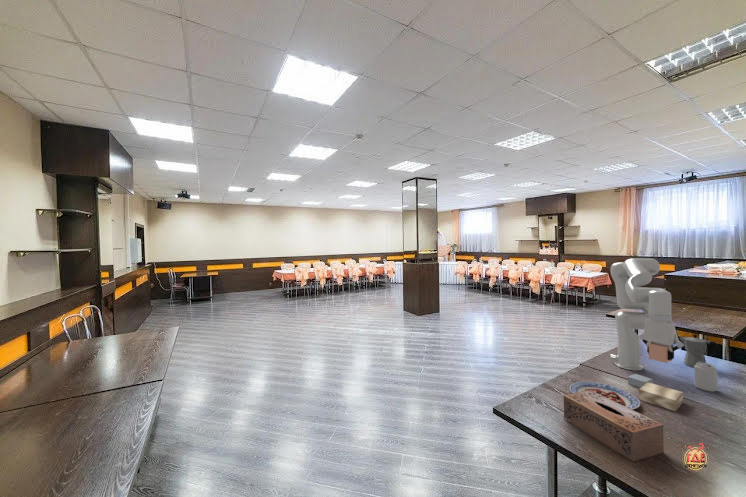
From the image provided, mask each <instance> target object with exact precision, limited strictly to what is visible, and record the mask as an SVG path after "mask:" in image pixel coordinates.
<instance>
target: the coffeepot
mask: <svg viewBox="0 0 746 497" xmlns="http://www.w3.org/2000/svg"><path fill="white" fill-rule="evenodd" d="M692 336H693V337H691V336H690V337H689V336H687V337H685V336H684V337H683V336H682V337H678V340H679V339H680V340H679V341H681V342H682V343H683V344H684V348H685V350H686V352H685V356H684V361H683V364H684V365H686V367H689V366H690V367H689V368H693V369H694V366H695V365H696V363H697V362H703V363H707V360H706V357H705V354H704V353H706V349H707V345H710V346H713V347H712V350H711V353H707V356H709V357H714V356H715V353H716V352H717V350H718V349H719V344H718V343H717V342H715V341H711V340H705V339H702V338H699V337H698V335H697V334H692Z"/></svg>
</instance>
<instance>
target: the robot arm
mask: <svg viewBox="0 0 746 497" xmlns="http://www.w3.org/2000/svg"><path fill="white" fill-rule="evenodd" d="M660 270H661V265H660V263H659V261H658V260H656V259H655V258H650V257H647V258H646V257H645V258H643V257H642V258H641V257H639V258H638V257H637V258H636V257H635V258H634V257H633V258H629V259H626V260H625V261H623V262H621V261H620V262H614V263H613V264H611V266H610V275H611V278H612V280H613V282H614V286H615V294H616V303H617V306H618V307H619V308H620V309H622V310H623V309H624V310H625V309H626V310H627V311H618V312H617V313H616V314H615V316H614V318H615V324H616V332H617V333H616V334H617V355H615V354H610V356H609V357H610V359H611V360H615V361H614V365H615V366H616V367H618V368H621V369H624V370H629V371H635V372H637V371H643V370H644V366H643V365H642V364H640V340H641V342H643V344H645V346H646V347H647V353H648V354H649V343H652V342H654V343H659V344H663V345H667V347H668V349H669V351H668V360H672V361H673V360H674V359H675V351H677V350H679V349H682V348H683V347H685V345H684V343H683V342H682V341H681V340H679V338H677V331H676V326H675V323H674V321H673V320H672V317H673V316H672V293H671V292H670V291H668V290H666V289H665V288H662V287H646V285H648V284H650V283H651V282H652V280H653V276H655V275H657V274H658V273H659V272H660ZM643 286H645V287H643ZM628 310H637V311H628ZM639 310H640V311H641V312H640V311H639ZM634 330H644V331H643V333H641V334H639V335H638V334H637V333H636V332H635V331H634ZM674 345H676V346H674Z"/></svg>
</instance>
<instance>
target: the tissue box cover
mask: <svg viewBox="0 0 746 497" xmlns="http://www.w3.org/2000/svg"><path fill="white" fill-rule="evenodd" d="M564 418H566V419H567V420H569V421H570V422H571V423H573V424H574V425H573V424H572V425H573V426H575V425H576V426H577V428H578V427H579V428H580V430H581V429H582V430H581V431H583V432H584V431H585V432H584V433H586V434H588V435H589V436H591V437H593V438H594V439H595V438H596V439H595V440H597V441H599V442H601V443H602V444H604V445H606V446H607V447H609V448H610V449H612V450H613V451H615V452H616V451H617V452H616V453H618V452H619V453H618V454H620V455H621V454H622V455H621V456H623V455H624V456H625V457H624V456H623V457H624V458H626V457H627V458H626V459H628V460H629V459H630V460H629V461H631V460H632V461H635V462H637V461H636V460H638V461H640V460H639V459H641V460H643V458H644V459H647V458H646V457H648V458H650V457H649V456H651V457H654V456H658V455H661V454H664V453H665V452H664V451H665V450H664V447H665V446H664V445H665V444H664V424H663V423H661V422H659V421H656V420H654V419H653V418H651V417H649V416H646V415H644V414H643V413H640V412H638V411H635V409H633V410H632V409H629V408H627V407H625V406H623V405H621V404H619V403H617V402H615V401H613V400H610V399H608V398H606V397H604V396H602V395H600V394H598V393H596V392H594V391H591V390H588V391H583V392H578V393H569V394H565V395H563V419H564ZM567 420H566V421H567ZM570 422H569V423H570ZM571 423H570V424H571ZM576 426H575V427H576ZM579 428H578V429H579ZM657 454H658V455H657ZM653 455H654V456H653ZM632 461H631V462H632Z"/></svg>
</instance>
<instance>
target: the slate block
mask: <svg viewBox="0 0 746 497" xmlns="http://www.w3.org/2000/svg"><path fill="white" fill-rule="evenodd" d="M647 382H649V383H652V384H653V378H650V377H647V376H644V375H641V374H637V373H633V374H630V375H629V376H627V384H628V385H631V386H633V387H636V388H637V389H638V388H639V389H640V388H641V387H642V386H644V385H645V384H646V383H647Z"/></svg>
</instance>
